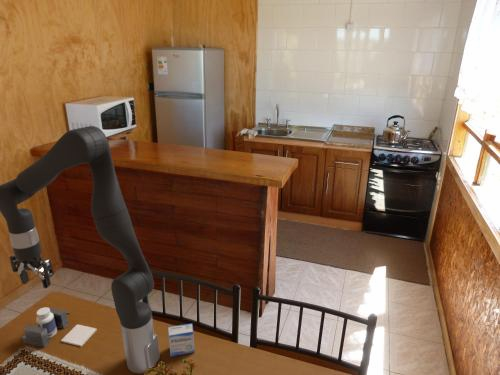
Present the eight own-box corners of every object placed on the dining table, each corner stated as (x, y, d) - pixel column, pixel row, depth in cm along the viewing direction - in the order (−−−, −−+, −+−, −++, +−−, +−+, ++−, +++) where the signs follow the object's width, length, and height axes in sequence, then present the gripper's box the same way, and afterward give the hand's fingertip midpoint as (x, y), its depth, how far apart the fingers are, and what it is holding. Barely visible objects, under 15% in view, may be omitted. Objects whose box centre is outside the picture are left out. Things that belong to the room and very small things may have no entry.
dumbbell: (73, 320, 137) (70, 306, 135) (44, 347, 125) (40, 333, 122) (52, 315, 139) (49, 302, 137) (22, 342, 127) (18, 328, 125)
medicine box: (170, 357, 121) (168, 336, 118) (169, 347, 125) (167, 326, 122) (195, 352, 123) (193, 331, 119) (193, 342, 127) (192, 322, 123)
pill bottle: (60, 327, 133) (54, 305, 130) (53, 339, 128) (47, 316, 125) (44, 328, 133) (38, 305, 129) (37, 339, 128) (30, 316, 124)
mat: (96, 329, 132) (96, 328, 132) (81, 346, 125) (81, 345, 125) (77, 325, 134) (77, 324, 134) (61, 341, 127) (61, 340, 127)
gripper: (53, 238, 119) (62, 281, 125) (17, 232, 122) (28, 274, 128) (34, 251, 112) (45, 295, 118) (-3, 244, 116) (9, 287, 122)
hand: (36, 284), depth 123 cm, fingers open, 8 cm apart
